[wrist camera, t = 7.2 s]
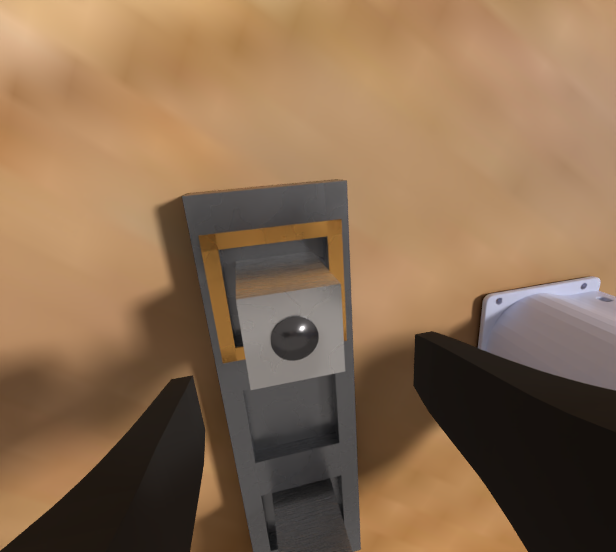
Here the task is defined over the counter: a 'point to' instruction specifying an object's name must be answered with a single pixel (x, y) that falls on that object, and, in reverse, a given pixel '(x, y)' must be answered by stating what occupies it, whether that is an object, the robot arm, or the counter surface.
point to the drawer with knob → (289, 319)
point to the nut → (309, 519)
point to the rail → (231, 357)
